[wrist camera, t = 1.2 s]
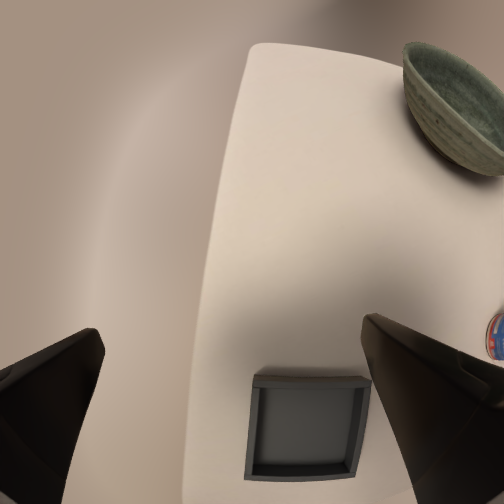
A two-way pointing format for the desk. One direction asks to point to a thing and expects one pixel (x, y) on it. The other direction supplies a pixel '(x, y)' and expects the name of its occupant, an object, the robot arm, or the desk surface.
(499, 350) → the pill bottle
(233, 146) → the desk surface
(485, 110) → the bowl
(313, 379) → the tray
